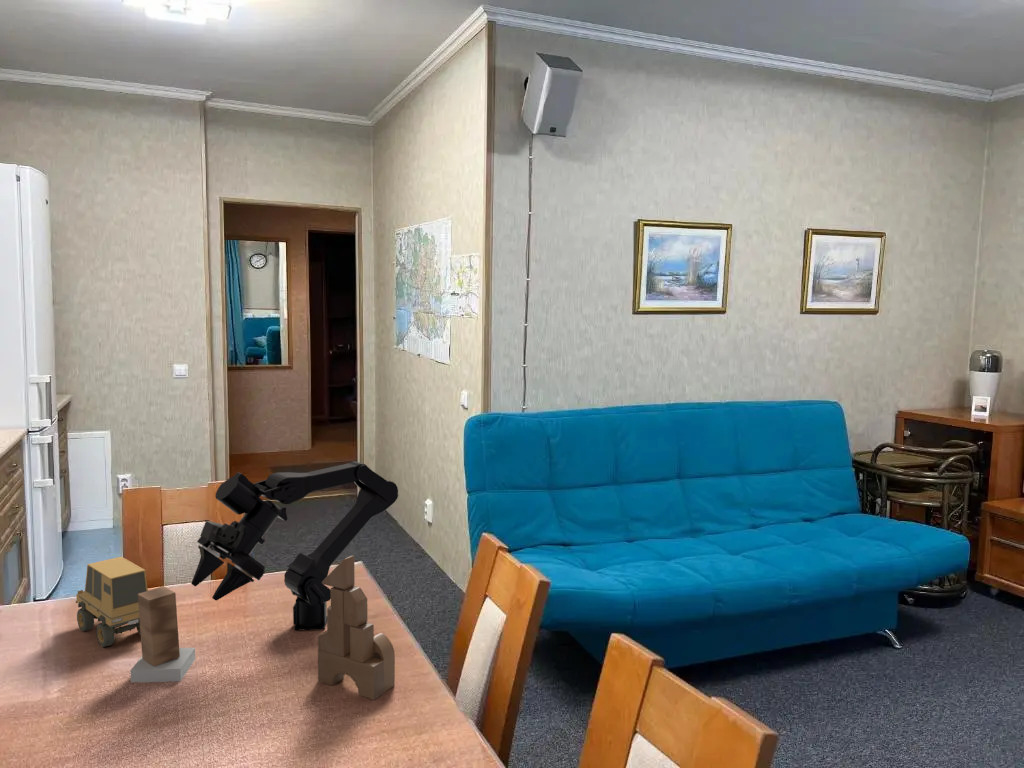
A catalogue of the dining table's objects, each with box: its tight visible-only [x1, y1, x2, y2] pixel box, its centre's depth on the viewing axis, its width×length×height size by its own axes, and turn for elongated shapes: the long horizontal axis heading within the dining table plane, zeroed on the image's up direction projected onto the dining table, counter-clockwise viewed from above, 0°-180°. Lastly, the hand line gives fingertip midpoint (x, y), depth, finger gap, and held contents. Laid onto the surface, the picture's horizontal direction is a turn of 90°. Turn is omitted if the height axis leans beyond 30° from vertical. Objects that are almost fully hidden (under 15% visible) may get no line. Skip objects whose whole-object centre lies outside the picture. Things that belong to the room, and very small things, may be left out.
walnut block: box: [138, 586, 180, 666], centre depth 151 cm, size 5×5×13 cm
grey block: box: [130, 647, 196, 684], centre depth 152 cm, size 9×9×3 cm
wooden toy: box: [317, 555, 396, 701], centre depth 147 cm, size 15×7×25 cm, turn 60°
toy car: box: [75, 556, 149, 648], centre depth 168 cm, size 10×19×15 cm, turn 48°
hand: (203, 592), depth 157 cm, fingers open, 9 cm apart
